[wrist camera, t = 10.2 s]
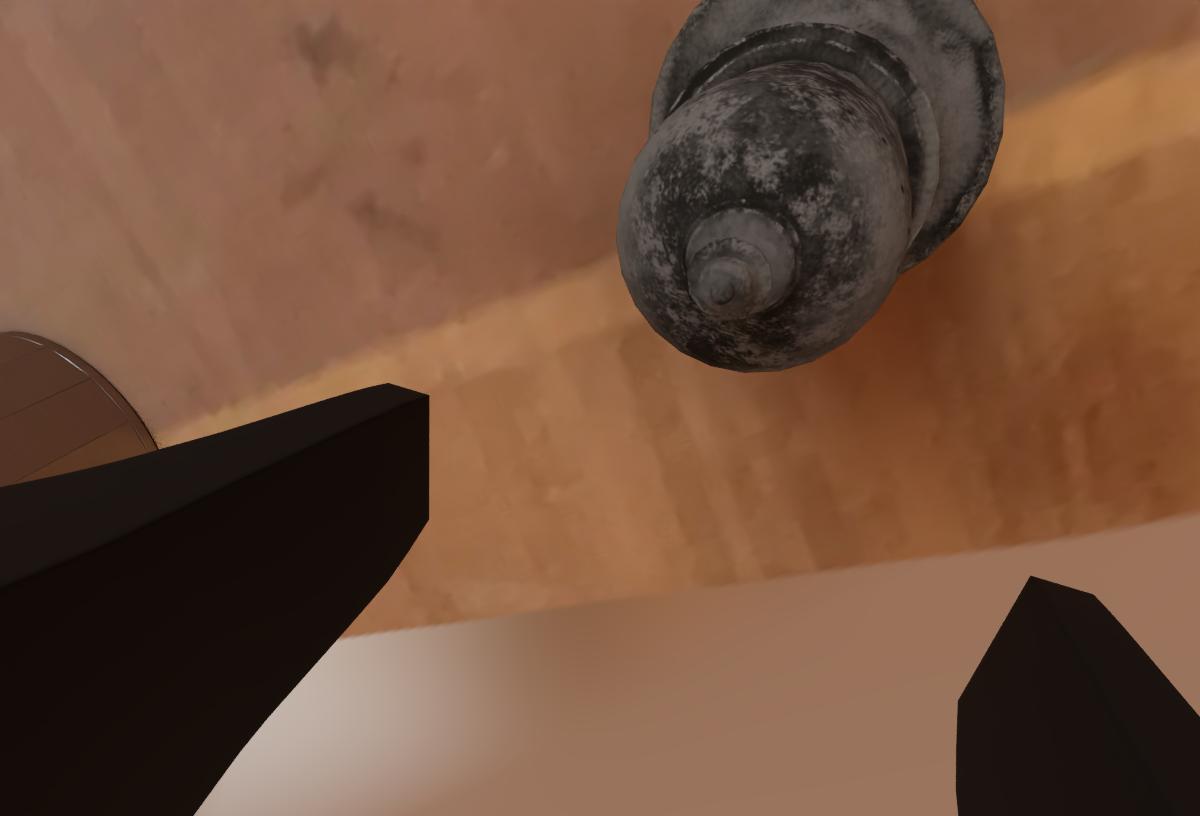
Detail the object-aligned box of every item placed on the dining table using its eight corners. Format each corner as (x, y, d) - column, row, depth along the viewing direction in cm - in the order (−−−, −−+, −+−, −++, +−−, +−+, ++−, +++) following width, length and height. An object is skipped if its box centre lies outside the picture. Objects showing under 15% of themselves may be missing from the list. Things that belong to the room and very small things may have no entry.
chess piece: (1053, 47, 14) (1488, 139, 4) (859, 296, 17) (822, 698, 7) (786, -110, 14) (540, -407, 4) (646, 166, 17) (319, 378, 7)
